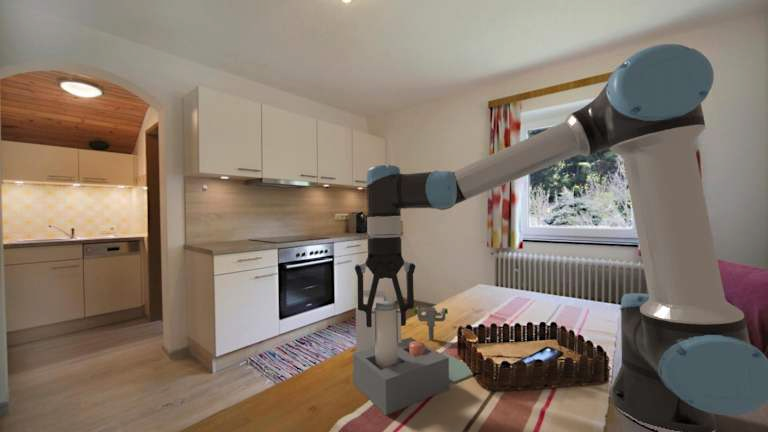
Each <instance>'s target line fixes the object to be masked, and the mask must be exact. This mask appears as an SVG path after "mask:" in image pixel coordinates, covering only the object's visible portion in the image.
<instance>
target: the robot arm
mask: <svg viewBox="0 0 768 432" xmlns="http://www.w3.org/2000/svg"><path fill="white" fill-rule="evenodd" d="M714 76H715V74H714V69H713V66H712V64H711V62H710V60H709V59H708V58H707V57H706V55H704V54H703V53H702V52H700V51H699V50H698V49H695V48H692V47H691V48H690V47H688V46H685V45H683V44H676V43H669V44H668V43H664V44H656V45H653V46H649V47H646V48H644V49H641V50H638V51H637V52H635V53H633V54H632V55H631V56H629V57H628V58H627V59H625V60H624V61H623V62H622V63H621V64H620V65H619V66H617V68H616V69H614V71H613V72H612V73H611V75H610V76H609V77H608V79H607V82H606V84H605V85H604V87H603V89H601V91H600V93H599V94H598V95H597V96H596V97H595V98H594V99H593V100H592V101H590V102H589V103H588V104H587V105H585V106H583V107H581V108H580V109H578V110H576V111H574V112H572V113H569V114H567V116H566V118H565V120H564V121H563V122H561V123H559V124H557V125H554V126H552V127H550V128H548V129H546V130H544V131H541V132H539V133H537V134H535V135H532V136H530V137H527V138H525V139H523V140H521V141H519V142H516V143H514V144H512V145H510V146H507V147H505V148H503V149H501V150H499V151H496V152H494V153H492V154H490V155H488V156H485V157H483V158H480V159H478V160H476V161H474V162H472V163H470V164H468V165H465V166H463V167H461V168H458V169H456V170H454V171H453V172H452V171H451V170H450V171H449V170H443V171H442V170H434V171H427V172H418V173H417V172H416V173H401V170H400V167H399V166H397V165H391V164H386V165H383V164H380V165H373V166H371V167H369V168H368V169H367V171H366V185H365V189H366V209H367V210H366V211H367V214H366V216H367V218H366V223H367V225H366V229H367V231H366V232H367V235H369V236H370V237H368V238H367V258H366V260H365V261H364V262H362V263H360V264H359V263H357V264H355V266H354V270H355V273H356V276H357V301H358V310H360V311H361V310H362V311H364V312H366V325H367V327H372V344H375V310H372V307H373V303H374V299H375V294H376V290H378V285H379V283H380V282H379V281H380V280H381V279H382V280H383V279H385V278H386V279H391V281H392V285H393V288H394V291H395V292H394V293H395V295H396V299H397V302H398V303H397V304H398V307H399V308H397V335H398V343H401V340H402V327H405V326H406V324H407V313H406V312H407V311H408V310H413V309H415V307H414V306H415V300H414V297H415V296H414V293H415V292H414V273H415V269H416V265H415V263H413V262H408V261H406V260H404V258H403V256H402V255H403V254H402V249H403V248H402V238H401V236H400V235H401V234H402V218H401V217H402V212H401V211H402V209H403V210H405V209H406V210H407V209H432V210H433V209H434V210H435V209H436V210H438V211H445V210H449V209H451V208H453V207H454V206H455V205H457V204H460V203H462V202H465V201H466V200H470V199H472V198H474V197H476V196H480V195H481V194H484V193H486V192H490V191H491V190H494V189H496V188H498V187H501V186H503V185H506V184H509V183H511V182H514V181H517V180H520V179H521V178H524V177H526V176H529V175H531V174H534V173H535V172H538V171H540V170H544V169H546V168H548V167H551V166H554V165H556V164H558V163H561V162H563V161H566V160H568V159H571V158H572V157H575V156H578V155H579V156H583V157H589V156H592V155H594V154H596V153H599V152H603V151H604V150H610V151H611V152H613V153H615V154H617V155H619V156H620V157H621V158H623V164H624V169H625V175H626V181H627V188H628V192H629V198H630V202H631V208H632V213H633V217H634V218H633V219H634V224H635V229H636V233H637V234H636V235H637V239H638V246H639V249H640V255H641V260H642V266H643V271H644V277H645V281H646V287H647V292H648V293H637V292H633V293H632V292H629V293H625V294H623V295H622V297H621V301H620V307H619V310H620V324H621V325H620V326H621V327H620V328H621V330H620V334H621V365H620V368H619V370H618V372H617V375H616V377H615V379H614V382H613V384H612V387H611V402H613V403H612V404H614V405H615V406H616V407H617V408H619V409H620V410H622V411H623V412H625V413H627V414H629V415H630V416H632V417H633V418H635V419H637V420H638V421H641V422H643V423H647V424H650V425H653V426H657V427H661V428H665V429H669V430H674V431H680V432H681V431H682V432H712V431H714V430H715V429H716V430H717V420H716V415H721V416H741V415H746V414H750V413H753V412H755V411H757V410H758V408H760V407H762V406H763V405H768V357H767V356H766V355H765V354H764V353H763V352H762V351H761V350H760V349H758V347H756V346H755V345H753V344H751V341H750V338H749V337H750V336H749V333H748V327H747V322H746V317H745V314H744V312H743V310H741V309H739V308H738V307H736V306H735V305H733V304H731V303H729V302H728V300H726V296H725V291H724V287H723V281H722V277H721V271H720V268H719V267H720V266H719V263H718V255H717V253H716V248H715V247H716V246H715V242H714V237H713V234H712V233H713V232H712V227H711V222H710V218H709V212H708V207H707V203H706V197H705V193H704V188H703V183H702V177H701V172H700V167H699V163H698V158H697V152H696V149H695V148H696V147H695V141H696V139H697V138H698V137H699V136H700V135H701V134H702V132H704V130H705V129H706V128H707V127H706V122H705V117H704V112H703V111H704V110H703V107H702V102H704V101H705V100H706V98H707V97H708V95H709V93H710V91H711V90H712V87H713V83H714V79H715V78H714ZM366 268H368V270H369V271H370V272H371V273H372V275H373V277H372V280H371V281H372V282H371V285H370V288H369V290H370V293H369V297H368V302H367V304H364V302H363V290H364V274H365V272H366ZM402 268H403V269H404V272H406V277H405V279H406V302H405V301H404V297H403V294H402V290H401V286H400V284H399V279H398V273H399V271H401V269H402ZM614 405H613V406H614ZM615 406H614V407H615ZM616 407H615V408H616ZM617 408H616V409H617Z"/></svg>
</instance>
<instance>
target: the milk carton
mask: <svg viewBox="0 0 768 432" xmlns="http://www.w3.org/2000/svg"><path fill="white" fill-rule="evenodd" d="M369 293H370V289H363V302H364V304H367V302H368V297H369ZM380 301H388V300H387V297H386V291H385V290H383V289H382V290H380V289H377V290H376V294H375V299H374V303H373V307H372V310H375V307H376V303H377V302H380ZM355 342H356V343H355V346H356V347H355V351H356V352H360V351H363V350H367V349H371V348H374V347H375V344H372V327H367V325H366V312H364V311H362V310H361V311H360V310H358V300H357V301H356V305H355ZM356 352H355V353H356Z"/></svg>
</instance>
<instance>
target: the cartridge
mask: <svg viewBox="0 0 768 432" xmlns="http://www.w3.org/2000/svg"><path fill="white" fill-rule="evenodd" d="M397 309H398V307H397V305H396V302H395V301H392V300H387V301H380V302H377V303H376V307H375V358H376V367H377V368H379V369H380V370H383V369H386V368H389V367H392V366H395V365H398V335H397Z"/></svg>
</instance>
